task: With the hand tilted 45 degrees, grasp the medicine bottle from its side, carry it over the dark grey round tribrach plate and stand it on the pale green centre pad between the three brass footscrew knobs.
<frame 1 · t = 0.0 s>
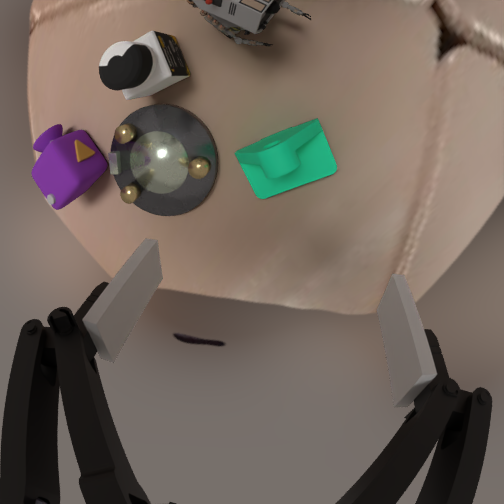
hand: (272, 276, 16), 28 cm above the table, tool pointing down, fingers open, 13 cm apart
figurine: (255, 18, 29), on the table
tribrach plate: (162, 160, 42), on the table
camera mount: (287, 156, 40), on the table
toy camera: (80, 153, 43), on the table
medicine bottle: (162, 65, 34), on the table
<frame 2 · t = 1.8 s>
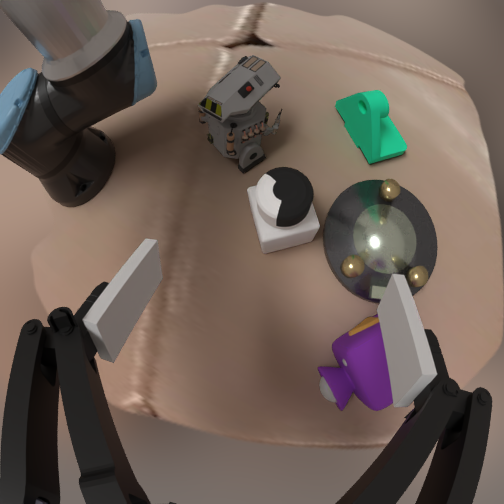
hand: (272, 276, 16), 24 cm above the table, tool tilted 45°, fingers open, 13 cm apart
figurine: (248, 141, 44), on the table
tribrach plate: (382, 240, 39), on the table
camera mount: (368, 133, 44), on the table
toy camera: (359, 360, 37), on the table
medicine bottle: (281, 224, 41), on the table
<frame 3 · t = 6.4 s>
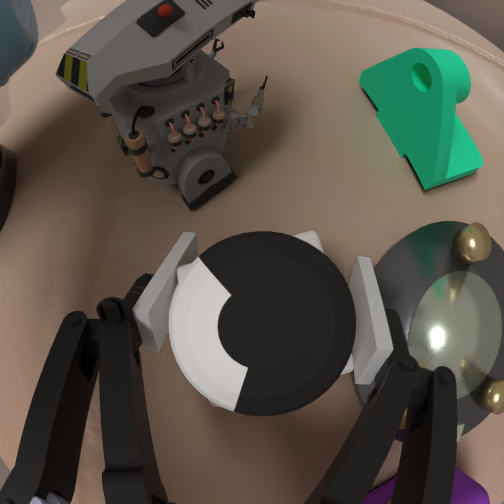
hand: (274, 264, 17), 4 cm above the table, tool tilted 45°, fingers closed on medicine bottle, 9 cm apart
figurine: (205, 145, 23), on the table
tribrach plate: (450, 336, 18), on the table
camera mount: (416, 131, 23), on the table
medicine bottle: (266, 318, 20), on the table, touching gripper
when the fingers open (7 cm above the table, at t = 11.2 s): medicine bottle drops 1 cm, resting on tribrach plate.
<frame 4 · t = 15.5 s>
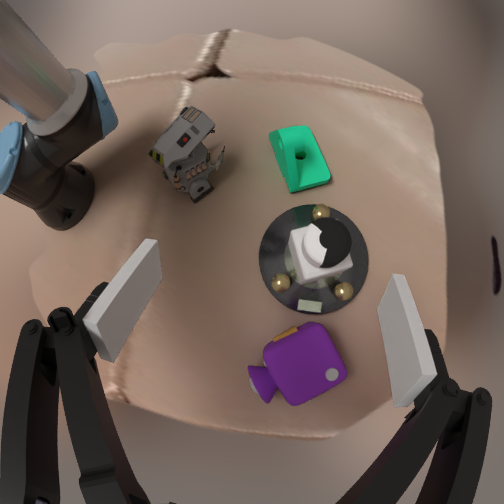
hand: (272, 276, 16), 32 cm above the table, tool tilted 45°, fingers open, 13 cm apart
figurine: (200, 173, 52), on the table
tribrach plate: (313, 259, 48), on the table
camera mount: (298, 162, 52), on the table
toy camera: (291, 362, 45), on the table
medicine bottle: (314, 257, 46), point 2 cm above the table, touching tribrach plate
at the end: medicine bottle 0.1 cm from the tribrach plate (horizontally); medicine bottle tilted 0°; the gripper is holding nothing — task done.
